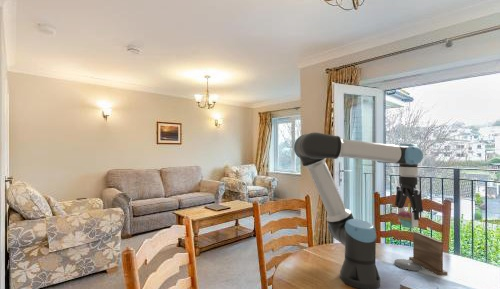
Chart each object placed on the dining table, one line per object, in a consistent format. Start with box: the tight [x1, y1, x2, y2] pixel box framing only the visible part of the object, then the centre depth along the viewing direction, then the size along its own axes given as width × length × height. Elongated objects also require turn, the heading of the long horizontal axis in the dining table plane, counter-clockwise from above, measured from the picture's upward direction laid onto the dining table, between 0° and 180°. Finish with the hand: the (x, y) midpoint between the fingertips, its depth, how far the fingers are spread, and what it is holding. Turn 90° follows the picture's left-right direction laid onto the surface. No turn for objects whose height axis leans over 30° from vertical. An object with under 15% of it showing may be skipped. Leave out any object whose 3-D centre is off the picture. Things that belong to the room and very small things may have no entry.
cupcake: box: [397, 201, 415, 229], centre depth 123 cm, size 9×8×12 cm
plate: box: [394, 258, 423, 272], centre depth 122 cm, size 11×11×1 cm
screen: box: [408, 231, 448, 276], centre depth 122 cm, size 5×17×14 cm, turn 6°
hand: (408, 223), depth 123 cm, fingers closed on cupcake, 8 cm apart
